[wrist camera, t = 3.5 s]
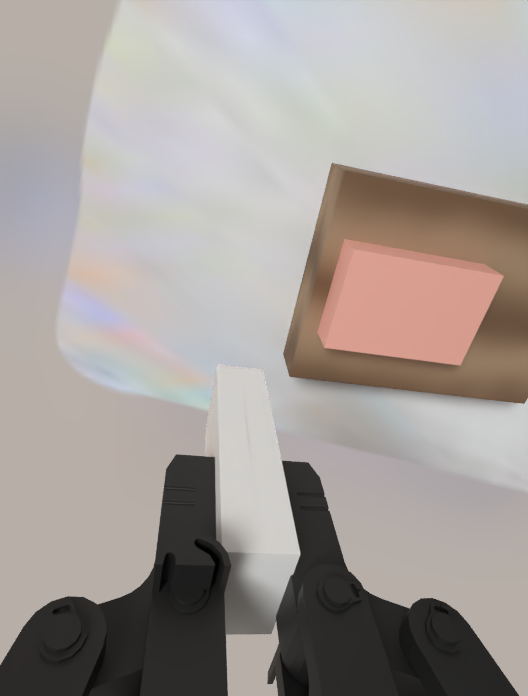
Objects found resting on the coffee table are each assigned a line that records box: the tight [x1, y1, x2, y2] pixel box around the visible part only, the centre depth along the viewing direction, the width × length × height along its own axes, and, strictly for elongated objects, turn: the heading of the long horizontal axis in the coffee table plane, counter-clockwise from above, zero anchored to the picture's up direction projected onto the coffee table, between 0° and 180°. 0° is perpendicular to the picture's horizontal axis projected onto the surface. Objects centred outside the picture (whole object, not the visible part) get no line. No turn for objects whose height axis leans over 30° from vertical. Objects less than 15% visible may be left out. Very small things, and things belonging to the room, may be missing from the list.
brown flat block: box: [283, 163, 528, 404], centre depth 29 cm, size 13×18×3 cm
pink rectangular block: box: [317, 239, 504, 365], centre depth 26 cm, size 9×6×2 cm, turn 79°
